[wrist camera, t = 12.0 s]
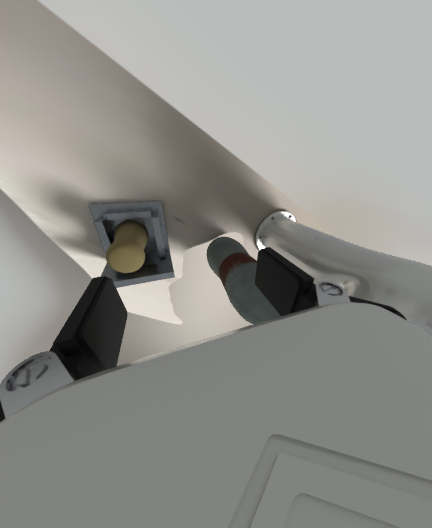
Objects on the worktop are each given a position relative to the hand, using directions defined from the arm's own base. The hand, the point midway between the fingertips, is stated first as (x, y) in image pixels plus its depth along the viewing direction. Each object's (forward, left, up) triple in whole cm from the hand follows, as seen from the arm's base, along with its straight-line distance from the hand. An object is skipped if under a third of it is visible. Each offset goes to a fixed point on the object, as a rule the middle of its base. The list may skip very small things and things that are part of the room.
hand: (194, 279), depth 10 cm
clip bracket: (+7, +5, -26) cm, 28 cm away
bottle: (-12, +12, -27) cm, 32 cm away
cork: (+7, +5, -26) cm, 27 cm away
